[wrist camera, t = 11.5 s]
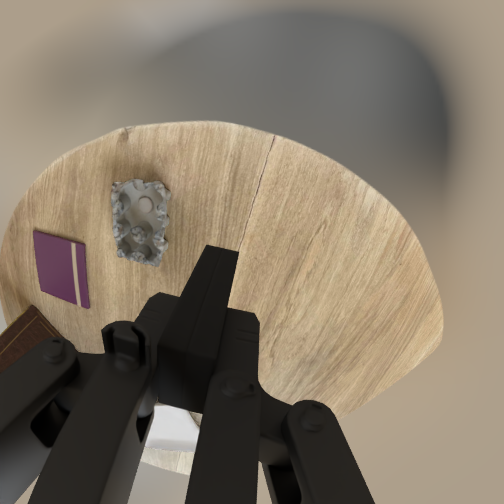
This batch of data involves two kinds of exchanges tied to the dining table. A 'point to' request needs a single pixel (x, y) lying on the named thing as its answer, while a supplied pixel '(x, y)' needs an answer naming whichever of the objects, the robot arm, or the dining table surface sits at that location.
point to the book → (24, 336)
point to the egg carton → (140, 220)
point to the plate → (172, 430)
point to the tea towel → (62, 268)
